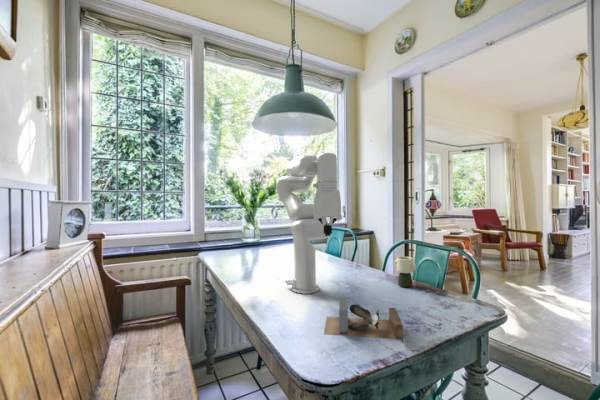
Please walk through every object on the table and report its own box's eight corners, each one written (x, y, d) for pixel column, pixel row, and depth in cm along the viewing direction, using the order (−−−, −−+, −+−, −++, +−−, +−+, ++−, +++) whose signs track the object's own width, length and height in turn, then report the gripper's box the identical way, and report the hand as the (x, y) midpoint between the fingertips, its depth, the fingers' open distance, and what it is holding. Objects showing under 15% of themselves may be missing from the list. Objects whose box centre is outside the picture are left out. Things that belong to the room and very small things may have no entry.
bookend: (339, 333, 81) (339, 309, 81) (340, 318, 90) (340, 297, 90) (347, 333, 80) (347, 309, 80) (347, 318, 90) (347, 297, 90)
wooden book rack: (324, 339, 80) (323, 320, 80) (327, 321, 92) (326, 304, 92) (403, 344, 77) (402, 325, 77) (395, 325, 88) (395, 308, 88)
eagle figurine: (376, 317, 88) (348, 311, 89) (381, 303, 84) (351, 297, 85) (376, 340, 82) (346, 333, 83) (382, 326, 78) (350, 319, 79)
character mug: (420, 287, 125) (420, 258, 125) (411, 290, 120) (411, 261, 120) (399, 281, 133) (399, 255, 133) (390, 284, 129) (390, 257, 129)
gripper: (305, 186, 100) (306, 237, 100) (347, 185, 98) (348, 237, 98) (308, 187, 108) (309, 234, 108) (347, 186, 105) (348, 234, 105)
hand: (327, 235), depth 103 cm, fingers closed
